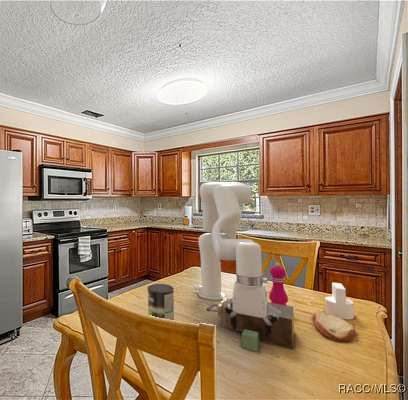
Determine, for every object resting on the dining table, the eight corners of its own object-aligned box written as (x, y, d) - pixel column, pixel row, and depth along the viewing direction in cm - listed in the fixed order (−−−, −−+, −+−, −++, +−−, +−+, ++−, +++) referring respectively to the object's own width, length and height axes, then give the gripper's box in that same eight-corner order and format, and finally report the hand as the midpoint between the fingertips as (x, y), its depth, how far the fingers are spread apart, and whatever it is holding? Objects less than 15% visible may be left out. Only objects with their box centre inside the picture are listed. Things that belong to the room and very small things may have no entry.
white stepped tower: (356, 321, 106) (355, 290, 107) (327, 316, 111) (326, 287, 111) (350, 312, 114) (350, 284, 114) (323, 308, 119) (323, 281, 119)
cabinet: (242, 336, 96) (242, 309, 97) (248, 323, 107) (248, 298, 107) (292, 349, 88) (291, 319, 88) (293, 333, 98) (293, 306, 98)
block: (242, 347, 89) (241, 334, 90) (244, 341, 93) (244, 328, 93) (257, 351, 87) (256, 337, 87) (259, 345, 90) (258, 332, 90)
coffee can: (151, 329, 103) (151, 292, 103) (145, 318, 113) (145, 284, 114) (178, 328, 104) (177, 291, 104) (170, 316, 114) (169, 283, 114)
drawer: (204, 324, 105) (204, 303, 105) (212, 313, 114) (212, 295, 114) (258, 337, 94) (257, 314, 94) (262, 324, 103) (261, 304, 103)
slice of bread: (320, 315, 113) (320, 305, 113) (375, 334, 96) (374, 324, 96) (289, 322, 107) (288, 312, 107) (340, 344, 90) (340, 333, 90)
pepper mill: (291, 311, 117) (290, 265, 117) (272, 310, 118) (271, 264, 118) (284, 305, 124) (283, 261, 124) (266, 304, 125) (265, 261, 125)
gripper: (280, 281, 88) (282, 334, 88) (224, 274, 98) (225, 321, 98) (278, 287, 82) (280, 344, 82) (218, 278, 92) (220, 329, 92)
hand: (250, 332), depth 90 cm, fingers open, 9 cm apart
